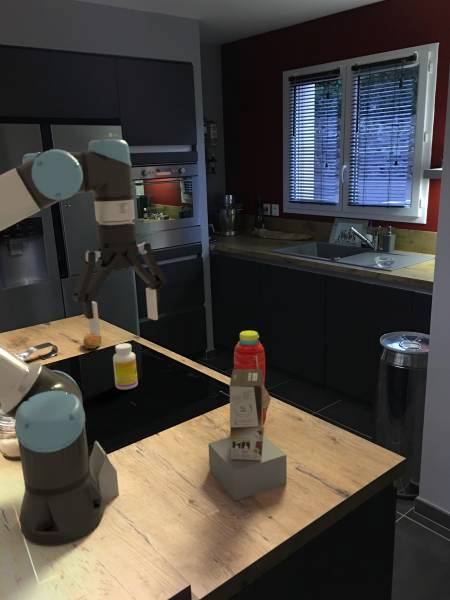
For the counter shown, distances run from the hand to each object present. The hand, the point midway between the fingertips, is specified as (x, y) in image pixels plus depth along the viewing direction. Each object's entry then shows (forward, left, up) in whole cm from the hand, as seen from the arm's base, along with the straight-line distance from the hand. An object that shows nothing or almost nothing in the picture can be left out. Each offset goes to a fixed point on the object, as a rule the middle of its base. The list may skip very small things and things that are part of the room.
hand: (125, 325), depth 108 cm
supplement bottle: (+21, +40, -33) cm, 56 cm away
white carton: (-10, -3, -33) cm, 35 cm away
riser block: (+15, -20, -33) cm, 41 cm away
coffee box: (+15, -20, -26) cm, 36 cm away
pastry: (+28, +80, -34) cm, 91 cm away
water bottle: (+30, -6, -33) cm, 45 cm away
